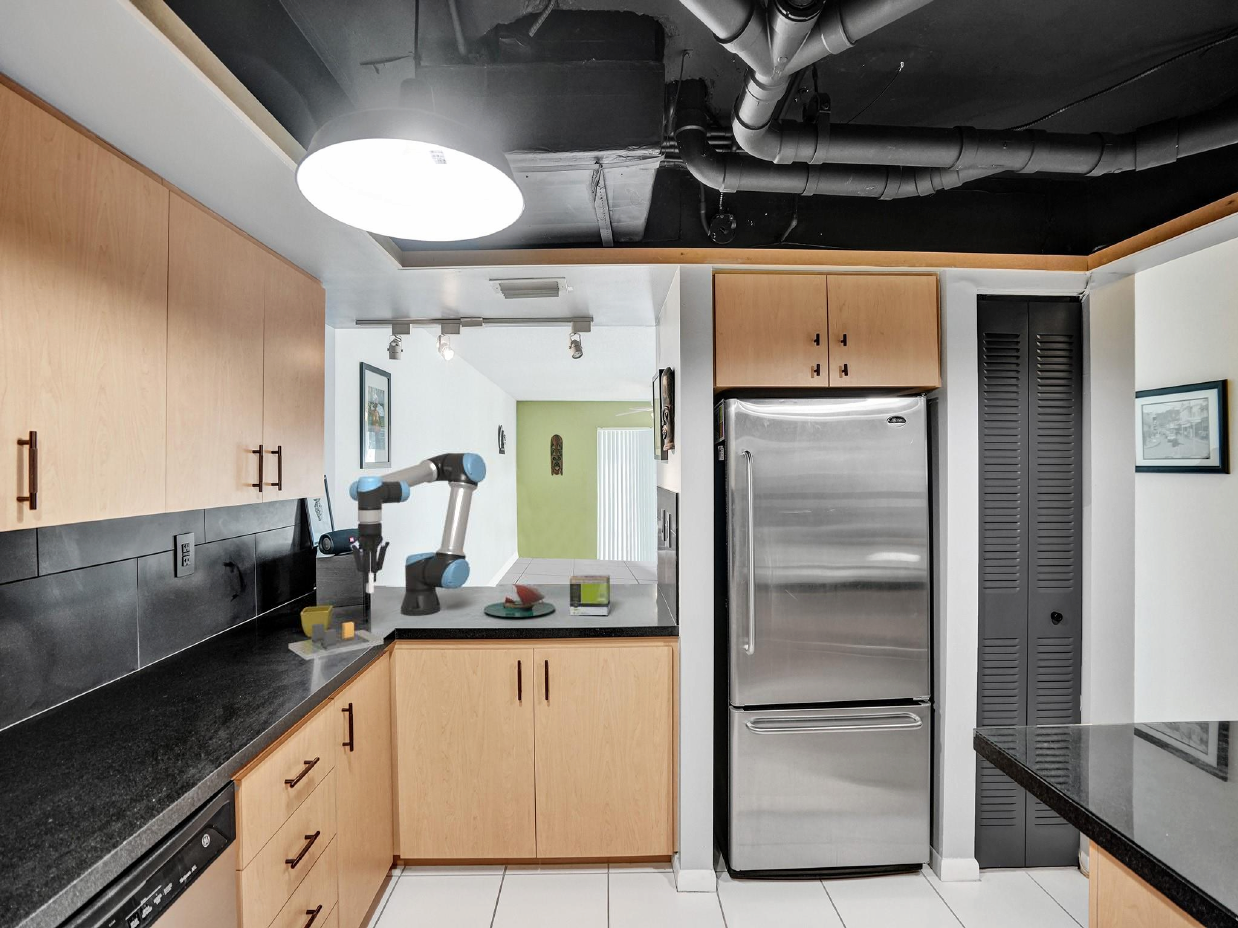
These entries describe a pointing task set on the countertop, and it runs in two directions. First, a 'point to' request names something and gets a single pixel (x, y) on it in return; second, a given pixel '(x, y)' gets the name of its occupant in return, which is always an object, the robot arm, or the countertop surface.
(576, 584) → the tea box
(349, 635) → the orange upright block
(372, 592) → the robot arm
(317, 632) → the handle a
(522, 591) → the sailing ship model
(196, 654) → the countertop surface
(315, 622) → the flower pot
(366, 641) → the panel
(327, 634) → the handle
